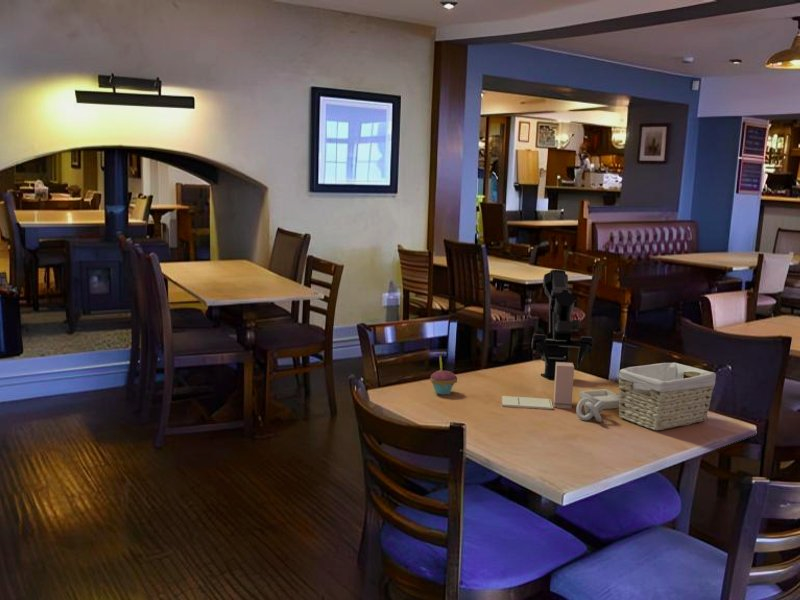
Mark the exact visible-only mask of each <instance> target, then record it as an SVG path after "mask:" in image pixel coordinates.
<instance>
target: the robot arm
mask: <svg viewBox="0 0 800 600" xmlns="http://www.w3.org/2000/svg"><path fill="white" fill-rule="evenodd" d="M568 284H569V275H568V274H566V270H563V269H551V270H550V271H549V272H547V273H545V274H544V275H543V279H542V288H544V294H545V296H546V297H547V298H548V307H549V309H548V313H549V314H548V315H549V316H548V317H549V318H548V329H549V331H548V333H547V335H546V334H543V333H542V334H541V333H534V334H533V335H532V341H531V350H532V351H535V352H536V353H538V354H540V356H541V360H542V361H543V362H544V373H540V376H541V377H544V378H545V379H547V380H550V381H551V380H555V367H556V362H564V363H568V362H569V355H570V351H571V348H578V353H577V364H576V366H577V369H579V368H580V365H581V362H582V360H583V359H584V357H585V356H588V354H592V352H593V349H594V346H595V339H594V338H593V337H592V336H584V335H583V336H582V335H581V336H580V340H572V339H573V337H574V332H578V331H579V329H580V320H578V319H573V320H572V313H573V309H574V307H575V305H577V299H576V298H575V297H574V295H573V294H572V291H571V290H570V289H569V288H568V286H569V285H568Z"/></svg>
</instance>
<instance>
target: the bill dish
mask: <svg viewBox="0 0 800 600" xmlns="http://www.w3.org/2000/svg"><path fill="white" fill-rule="evenodd" d="M578 398H579V399H580V400H581V399H583V398H590V399H591V400H593V401H594V403H595V405H596V403H597V402H599V401H601V400H602V401H604V402H605V405H604V407H603V409H602V410H606V409H607V410H609V409H617V408H618V409H619V394H618V393H617V392H613V391H611V390H610V389H608V388H607V389H606V388H605V389H604V388H603V389H593V390H581V391H579V397H578Z"/></svg>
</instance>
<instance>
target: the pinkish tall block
mask: <svg viewBox="0 0 800 600" xmlns="http://www.w3.org/2000/svg"><path fill="white" fill-rule="evenodd" d="M574 373H575V366H574V363H573V362H556V367H555V379H554V382H553V383H554V385H553V386H554V387H553V399H552V400H553V403H552V405H553V408H554V407H557V408H558V409H569V408H570V409H572V408H573V407H572V406H573V391H574V390H573V389H574V378H575V377H574V375H575V374H574ZM557 408H556V409H557Z"/></svg>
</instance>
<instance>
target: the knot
mask: <svg viewBox="0 0 800 600" xmlns="http://www.w3.org/2000/svg"><path fill="white" fill-rule="evenodd" d="M604 405H605V402H604V401H602V400H601V401H599V402H597V403H596V405H595V403H594V401H593V400H591V399H590V398H583V399H581V398H580V400H579V401H578V402H577V404H576V409H575V410H576V415H577V417H578V419H579V420H581V421H585V422H586V421H590V420H591V419H592V418H593V417H595V419H596V421H597V422H598V423H601V422H603V418H602V416H601V414H600V412H601V411H603V410H604V409H603V407H604ZM583 406H584V407H583ZM582 407H583V408H584V414H585V415H584V414H583V411H582Z"/></svg>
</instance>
